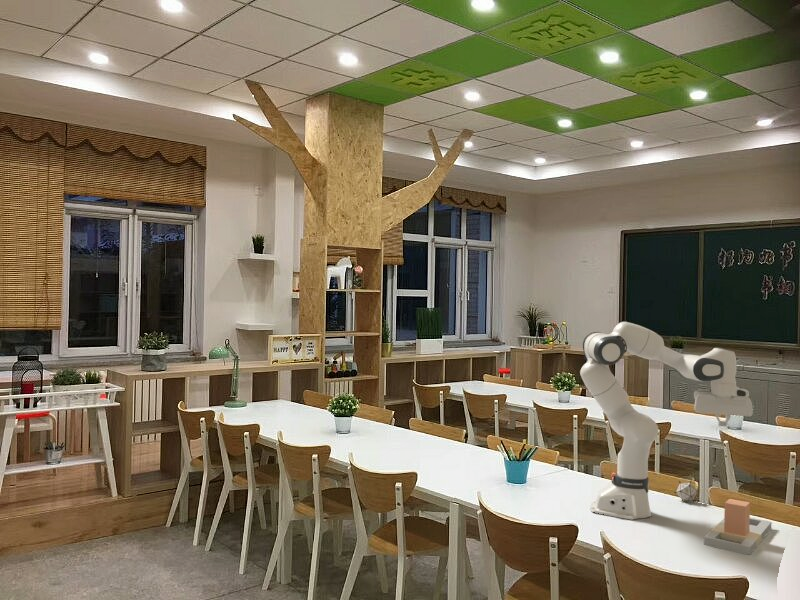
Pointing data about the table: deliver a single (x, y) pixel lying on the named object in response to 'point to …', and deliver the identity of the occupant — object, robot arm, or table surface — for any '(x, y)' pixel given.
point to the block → (737, 517)
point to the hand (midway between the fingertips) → (722, 426)
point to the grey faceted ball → (686, 491)
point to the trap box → (738, 537)
